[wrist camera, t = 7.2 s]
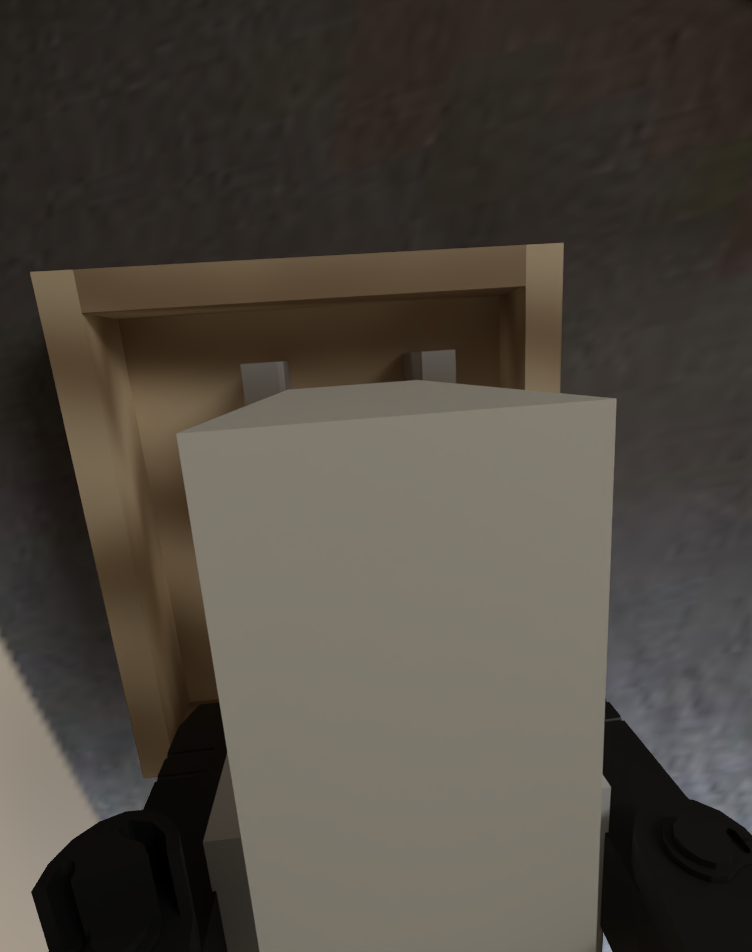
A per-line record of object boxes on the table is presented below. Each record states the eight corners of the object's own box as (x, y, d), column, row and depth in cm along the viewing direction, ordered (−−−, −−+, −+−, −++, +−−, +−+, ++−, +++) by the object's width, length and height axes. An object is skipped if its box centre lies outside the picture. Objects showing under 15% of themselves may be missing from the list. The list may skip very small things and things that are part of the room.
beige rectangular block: (287, 389, 11) (176, 433, 3) (418, 379, 11) (617, 398, 3) (334, 822, 14) (337, 1433, 6) (439, 807, 14) (579, 1377, 6)
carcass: (89, 288, 17) (-6, 261, 13) (521, 263, 18) (588, 230, 14) (173, 713, 22) (127, 814, 17) (519, 672, 23) (569, 757, 18)
